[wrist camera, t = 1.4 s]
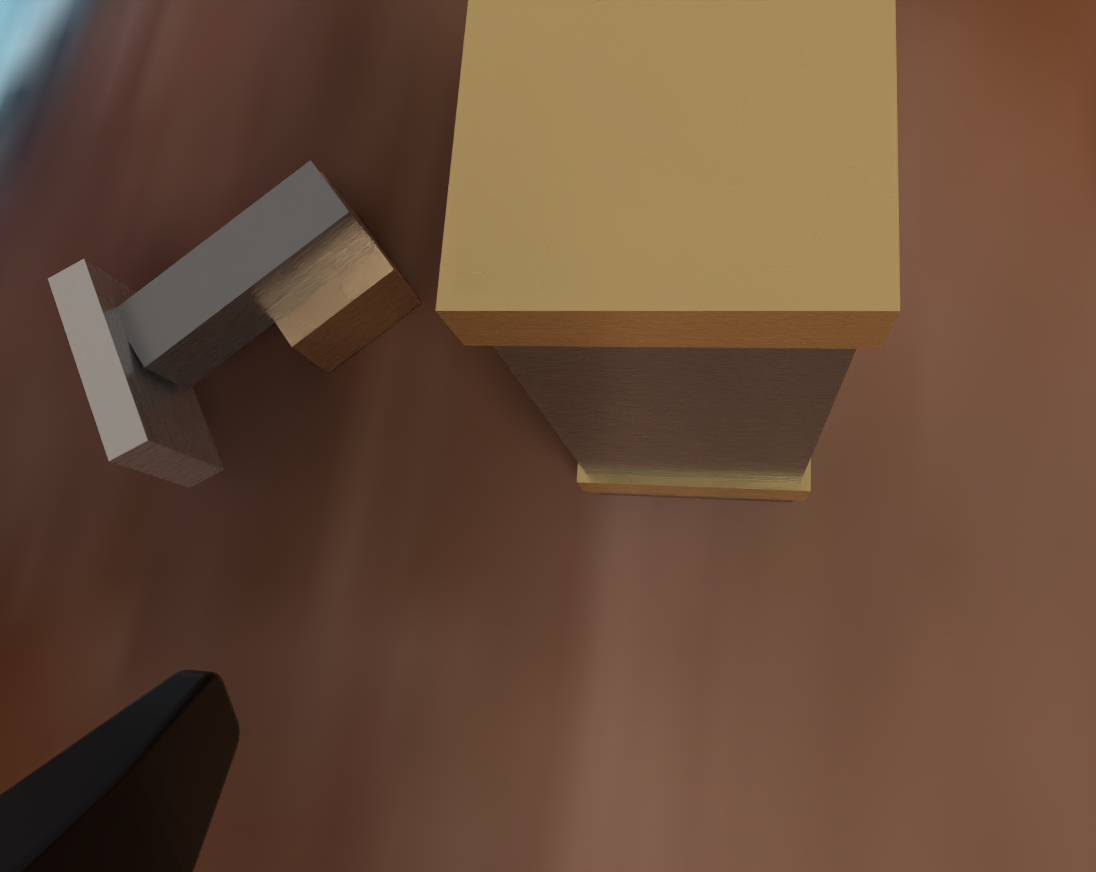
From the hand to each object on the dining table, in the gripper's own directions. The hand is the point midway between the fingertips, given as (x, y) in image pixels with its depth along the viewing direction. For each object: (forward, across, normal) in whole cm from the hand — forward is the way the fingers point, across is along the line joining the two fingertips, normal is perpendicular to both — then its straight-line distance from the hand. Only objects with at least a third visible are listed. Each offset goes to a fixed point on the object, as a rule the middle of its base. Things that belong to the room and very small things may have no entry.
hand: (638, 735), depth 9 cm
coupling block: (+14, 0, +4) cm, 15 cm away
